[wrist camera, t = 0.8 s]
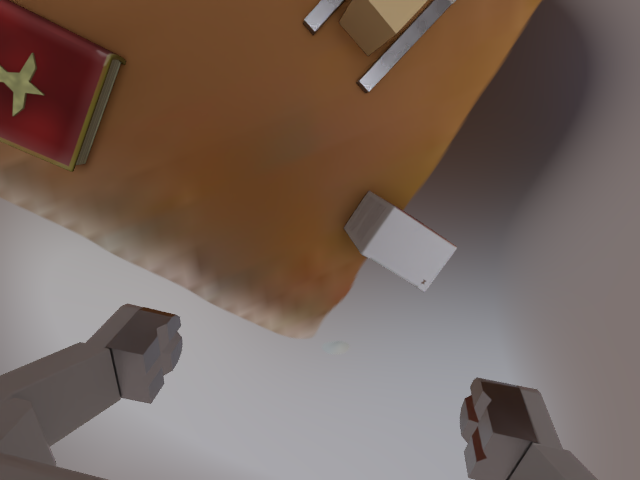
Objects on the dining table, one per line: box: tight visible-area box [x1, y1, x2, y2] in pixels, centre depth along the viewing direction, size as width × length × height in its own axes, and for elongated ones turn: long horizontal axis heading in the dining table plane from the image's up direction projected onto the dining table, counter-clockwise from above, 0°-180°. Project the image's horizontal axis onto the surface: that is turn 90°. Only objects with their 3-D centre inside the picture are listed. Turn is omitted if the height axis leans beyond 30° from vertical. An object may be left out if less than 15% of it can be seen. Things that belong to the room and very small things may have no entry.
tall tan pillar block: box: [339, 0, 427, 56], centre depth 36 cm, size 4×4×10 cm
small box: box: [344, 191, 457, 292], centre depth 42 cm, size 8×6×10 cm
